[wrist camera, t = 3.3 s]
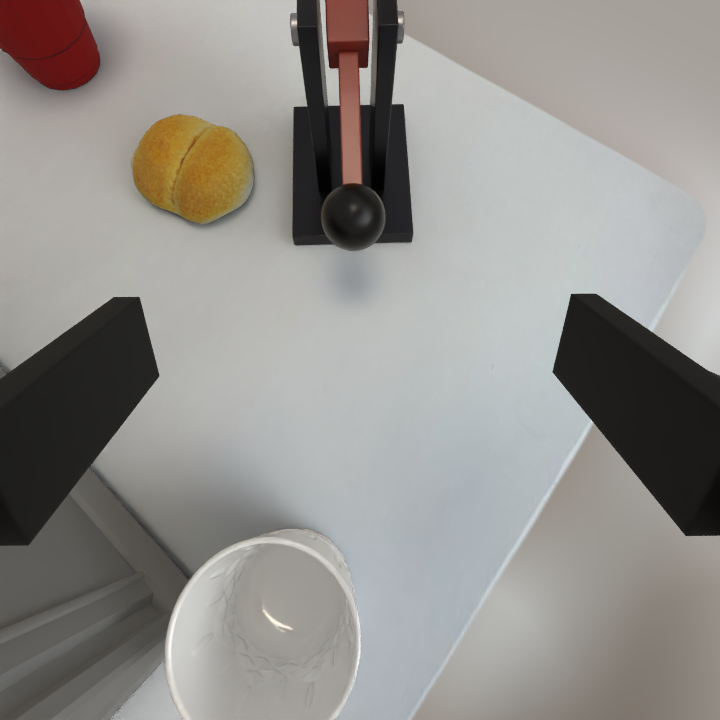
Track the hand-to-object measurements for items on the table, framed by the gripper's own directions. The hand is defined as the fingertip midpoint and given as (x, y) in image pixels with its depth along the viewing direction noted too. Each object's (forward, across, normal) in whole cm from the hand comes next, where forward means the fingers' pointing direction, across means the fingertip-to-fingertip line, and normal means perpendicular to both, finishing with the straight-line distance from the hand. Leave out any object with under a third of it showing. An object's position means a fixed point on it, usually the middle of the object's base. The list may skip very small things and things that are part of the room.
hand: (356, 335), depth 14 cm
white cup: (+5, +4, +20) cm, 21 cm away
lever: (+16, 0, -5) cm, 17 cm away
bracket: (+26, 0, -2) cm, 26 cm away
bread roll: (+26, +12, -2) cm, 29 cm away
